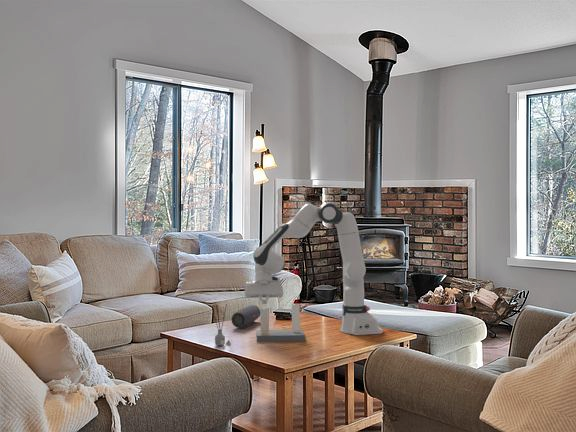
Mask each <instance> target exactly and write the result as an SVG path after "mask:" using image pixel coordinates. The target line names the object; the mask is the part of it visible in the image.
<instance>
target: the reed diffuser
mask: <svg viewBox="0 0 576 432" xmlns="http://www.w3.org/2000/svg"><path fill="white" fill-rule="evenodd" d="M215 305H216V306H215V308H216V313H217V318H216V316H215V312H214V308H213V307H211V309H212V312H213V316H214V320H215V323H216V327H217V334H216V335H214V344H215V345H216V346H224V345H225V344H226V345H230V344H231V342H230V340H229V339H228V340H227V341H225V340H226V336H225V335H224V334H223V330H222V329H223V325H224V320H225V316H226V315H225V314H226V312H224V313H223V319H222V324H220V316H219V310H218V309H219V308H218V304H215ZM225 306H227V304H225ZM224 308H225V309H224V311H226V310H227V307H224ZM216 319H217V320H218V322H217V320H216Z"/></svg>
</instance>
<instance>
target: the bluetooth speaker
mask: <svg viewBox="0 0 576 432" xmlns="http://www.w3.org/2000/svg"><path fill="white" fill-rule="evenodd" d="M260 317H261V308H260V307H259V306H257V305H255V304H254V305H253V304H252V305H248V306H246V307H243V308H241V309H239V310H237V311H236V312H235V313H233V314H232V316H231V323H232V325H233V326H234V327H235V328H247V327H249V326H251V325H252V324H253V323H254V322H255V321H256V320H258V319H259V318H260Z"/></svg>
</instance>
